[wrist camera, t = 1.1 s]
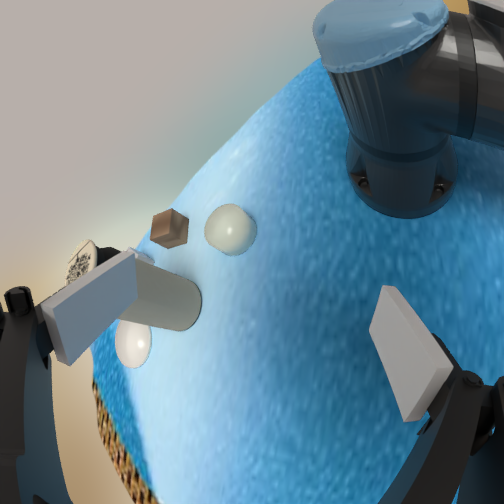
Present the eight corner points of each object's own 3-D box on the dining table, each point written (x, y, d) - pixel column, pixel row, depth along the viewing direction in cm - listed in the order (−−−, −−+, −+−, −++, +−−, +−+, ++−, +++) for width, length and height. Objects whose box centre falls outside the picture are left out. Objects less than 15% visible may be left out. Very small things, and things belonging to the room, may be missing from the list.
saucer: (125, 306, 47) (123, 305, 46) (158, 322, 41) (155, 321, 41) (113, 354, 45) (110, 354, 44) (143, 377, 39) (140, 377, 39)
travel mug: (205, 324, 37) (92, 296, 22) (165, 335, 40) (61, 313, 25) (199, 272, 41) (98, 225, 26) (162, 288, 43) (66, 252, 29)
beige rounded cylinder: (226, 214, 42) (213, 203, 39) (262, 216, 39) (250, 204, 36) (213, 253, 41) (198, 244, 38) (249, 259, 37) (235, 250, 34)
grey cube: (144, 253, 49) (128, 246, 46) (155, 262, 47) (138, 254, 43) (135, 272, 49) (118, 266, 45) (145, 281, 46) (127, 275, 43)
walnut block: (170, 226, 48) (153, 216, 44) (189, 219, 46) (172, 208, 42) (168, 249, 46) (149, 239, 42) (187, 243, 44) (168, 233, 41)
